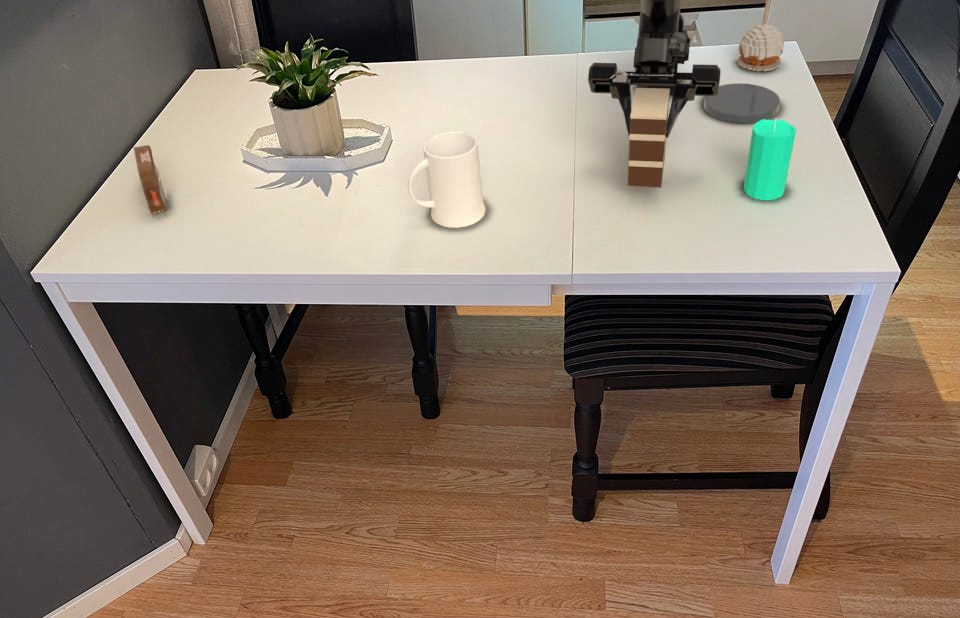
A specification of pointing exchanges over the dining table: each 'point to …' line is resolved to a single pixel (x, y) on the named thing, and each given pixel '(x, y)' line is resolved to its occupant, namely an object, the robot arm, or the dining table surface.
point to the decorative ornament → (761, 46)
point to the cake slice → (648, 136)
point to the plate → (742, 103)
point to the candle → (769, 159)
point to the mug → (452, 179)
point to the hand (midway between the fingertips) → (648, 136)
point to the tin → (150, 179)
